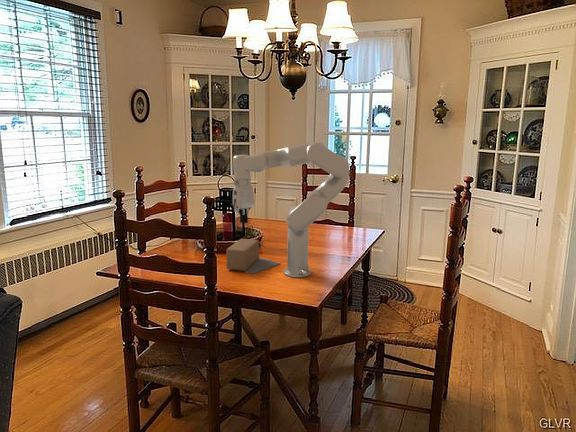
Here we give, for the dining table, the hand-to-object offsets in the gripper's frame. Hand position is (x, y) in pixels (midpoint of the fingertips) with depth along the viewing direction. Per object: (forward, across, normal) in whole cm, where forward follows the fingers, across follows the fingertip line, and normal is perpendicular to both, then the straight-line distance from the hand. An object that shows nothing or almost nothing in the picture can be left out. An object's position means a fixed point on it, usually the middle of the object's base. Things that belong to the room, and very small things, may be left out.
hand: (243, 222), depth 207 cm
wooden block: (+18, -3, +3) cm, 18 cm away
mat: (+24, +9, +1) cm, 25 cm away
